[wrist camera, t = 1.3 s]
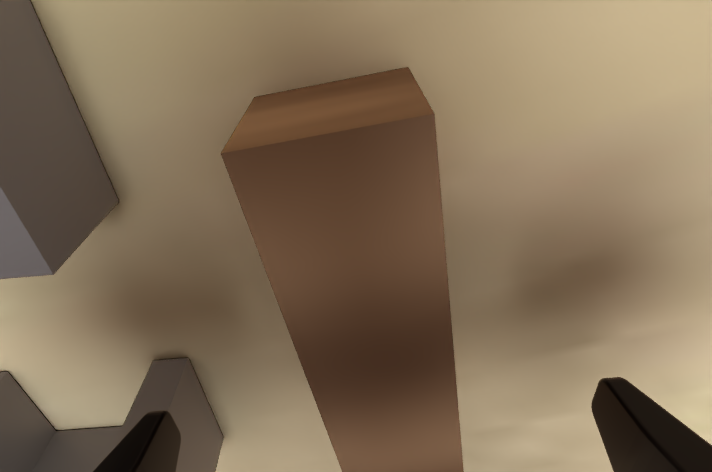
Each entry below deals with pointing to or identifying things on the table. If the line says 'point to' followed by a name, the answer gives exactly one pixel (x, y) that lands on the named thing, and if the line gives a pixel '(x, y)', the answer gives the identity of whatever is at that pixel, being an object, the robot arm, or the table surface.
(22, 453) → the end cap
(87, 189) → the end cap
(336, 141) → the slat
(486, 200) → the table surface
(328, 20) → the table surface
